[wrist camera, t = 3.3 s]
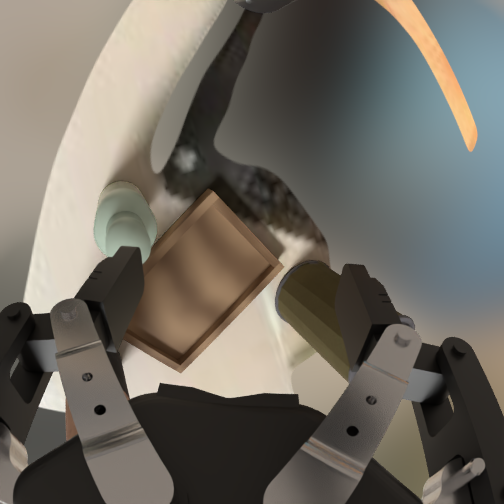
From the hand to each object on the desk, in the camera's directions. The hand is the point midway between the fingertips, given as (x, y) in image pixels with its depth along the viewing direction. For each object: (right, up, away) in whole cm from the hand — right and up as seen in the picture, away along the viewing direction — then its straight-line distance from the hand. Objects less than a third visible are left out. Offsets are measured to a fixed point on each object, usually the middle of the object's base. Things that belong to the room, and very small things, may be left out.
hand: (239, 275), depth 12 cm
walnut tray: (-7, -3, +27) cm, 28 cm away
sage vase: (-14, +6, +20) cm, 25 cm away
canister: (+8, -5, +35) cm, 37 cm away
